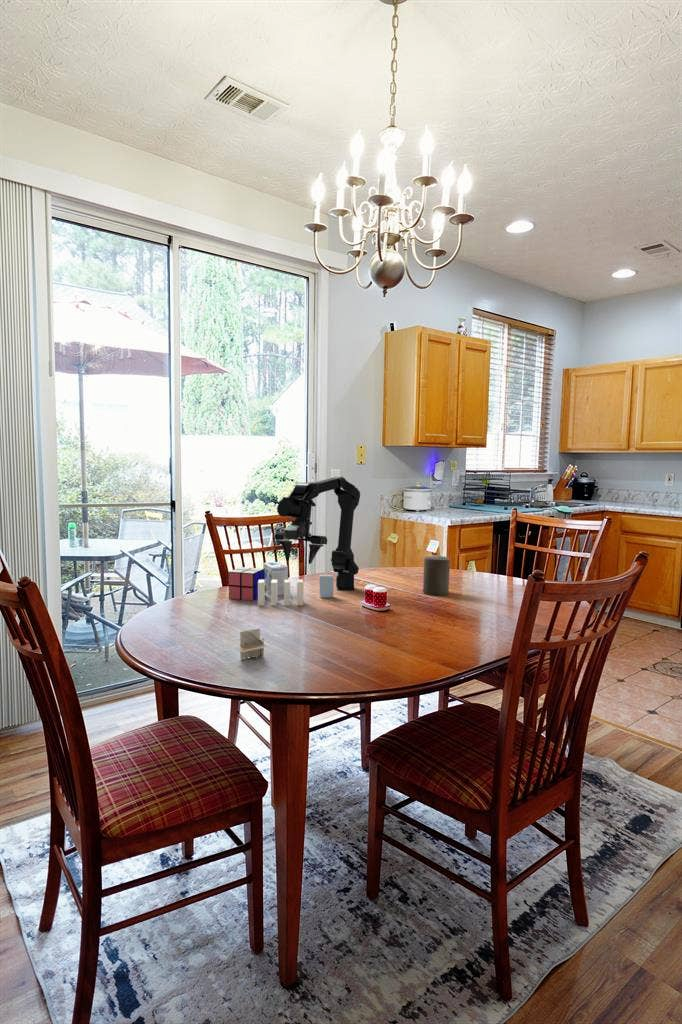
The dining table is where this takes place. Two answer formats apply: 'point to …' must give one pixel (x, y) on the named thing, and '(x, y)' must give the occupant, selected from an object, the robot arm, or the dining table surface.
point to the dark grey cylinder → (436, 575)
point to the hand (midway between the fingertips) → (298, 562)
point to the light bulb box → (275, 576)
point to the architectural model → (251, 644)
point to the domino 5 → (326, 585)
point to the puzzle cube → (245, 583)
